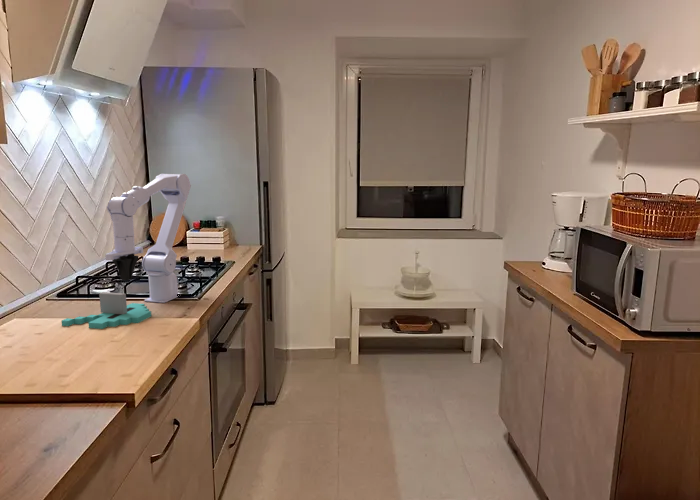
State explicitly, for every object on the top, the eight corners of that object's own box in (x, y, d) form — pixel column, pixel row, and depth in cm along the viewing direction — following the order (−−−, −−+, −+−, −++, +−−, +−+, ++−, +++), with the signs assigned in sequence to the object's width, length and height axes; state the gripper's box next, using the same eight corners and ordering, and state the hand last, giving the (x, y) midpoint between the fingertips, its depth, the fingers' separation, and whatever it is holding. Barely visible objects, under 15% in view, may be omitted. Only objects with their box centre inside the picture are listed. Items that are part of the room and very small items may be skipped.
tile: (104, 310, 153) (103, 291, 152) (127, 312, 151) (125, 293, 150) (100, 312, 151) (99, 293, 150) (123, 314, 149) (122, 294, 148)
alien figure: (62, 327, 144) (123, 332, 140) (61, 320, 144) (123, 325, 140) (108, 308, 163) (163, 311, 159) (107, 301, 163) (163, 305, 159)
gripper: (128, 232, 161) (131, 274, 164) (95, 238, 148) (98, 283, 150) (147, 233, 160) (150, 275, 162) (115, 239, 146) (118, 285, 148)
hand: (126, 279), depth 156 cm, fingers closed
